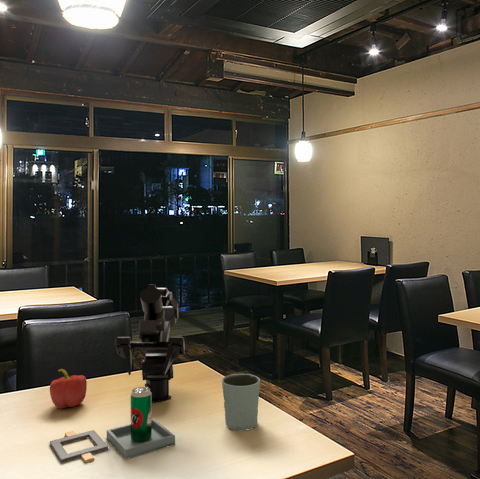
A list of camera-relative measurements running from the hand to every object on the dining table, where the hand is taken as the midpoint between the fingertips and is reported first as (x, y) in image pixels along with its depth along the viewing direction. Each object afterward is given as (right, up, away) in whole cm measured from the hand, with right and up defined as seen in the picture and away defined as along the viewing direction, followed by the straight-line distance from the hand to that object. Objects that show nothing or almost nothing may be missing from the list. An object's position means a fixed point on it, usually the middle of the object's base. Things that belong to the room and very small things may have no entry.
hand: (146, 374), depth 118 cm
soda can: (0, -13, -9) cm, 16 cm away
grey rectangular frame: (-14, -14, -12) cm, 23 cm away
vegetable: (-26, -14, +14) cm, 32 cm away
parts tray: (0, -14, -9) cm, 16 cm away
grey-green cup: (+25, -14, +1) cm, 29 cm away
